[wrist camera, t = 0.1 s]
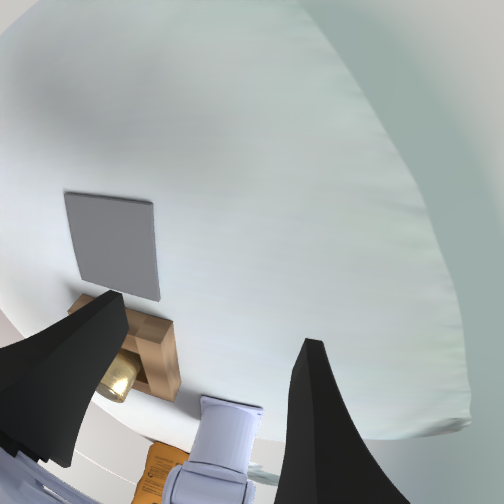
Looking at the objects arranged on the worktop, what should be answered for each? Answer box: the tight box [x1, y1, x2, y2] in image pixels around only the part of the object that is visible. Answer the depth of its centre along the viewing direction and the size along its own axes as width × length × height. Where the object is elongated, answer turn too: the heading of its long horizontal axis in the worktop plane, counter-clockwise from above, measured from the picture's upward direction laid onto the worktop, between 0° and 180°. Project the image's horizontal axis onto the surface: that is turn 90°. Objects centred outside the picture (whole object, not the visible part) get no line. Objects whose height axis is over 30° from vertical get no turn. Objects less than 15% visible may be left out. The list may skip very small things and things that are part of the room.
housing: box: [67, 294, 181, 402], centre depth 27 cm, size 11×11×3 cm
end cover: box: [95, 348, 143, 403], centre depth 25 cm, size 4×4×7 cm
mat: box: [64, 193, 160, 302], centre depth 22 cm, size 9×9×1 cm
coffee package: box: [131, 442, 190, 504], centre depth 40 cm, size 10×12×22 cm
